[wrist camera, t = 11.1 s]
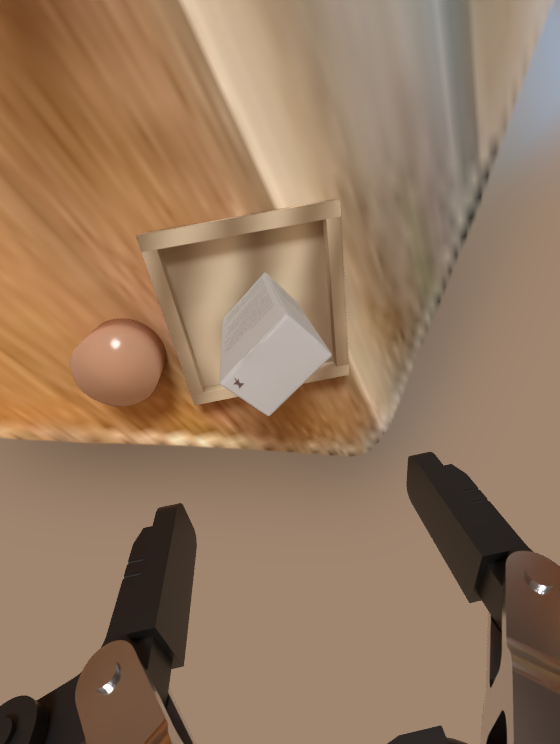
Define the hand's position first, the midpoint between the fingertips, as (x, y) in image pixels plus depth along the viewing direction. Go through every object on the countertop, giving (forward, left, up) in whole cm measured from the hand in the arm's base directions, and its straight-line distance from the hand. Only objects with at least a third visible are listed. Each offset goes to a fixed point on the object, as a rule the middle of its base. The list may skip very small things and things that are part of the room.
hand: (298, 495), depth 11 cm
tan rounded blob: (+13, +2, -22) cm, 26 cm away
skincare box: (0, 0, -21) cm, 21 cm away
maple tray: (0, 0, -22) cm, 22 cm away
